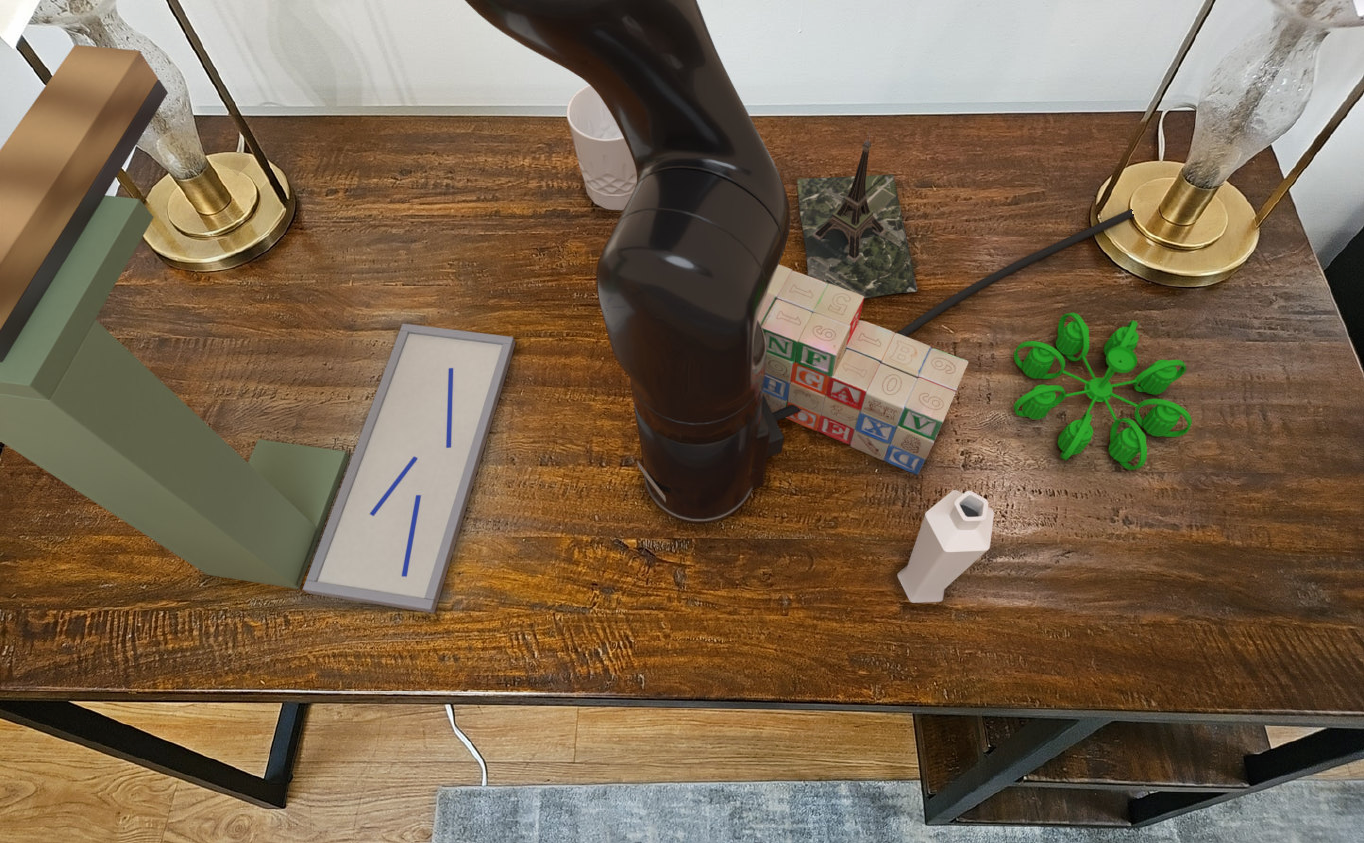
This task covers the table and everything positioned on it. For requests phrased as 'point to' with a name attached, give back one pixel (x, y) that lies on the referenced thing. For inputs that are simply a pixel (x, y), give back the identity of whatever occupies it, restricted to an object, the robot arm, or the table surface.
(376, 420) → the whiteboard
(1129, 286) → the table surface
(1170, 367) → the chandelier
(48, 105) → the eraser
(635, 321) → the robot arm
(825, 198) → the eiffel tower figurine
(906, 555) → the table surface
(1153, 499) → the table surface
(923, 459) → the stack of blocks
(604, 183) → the white cup
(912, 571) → the white faceted vase
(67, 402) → the green bent block
